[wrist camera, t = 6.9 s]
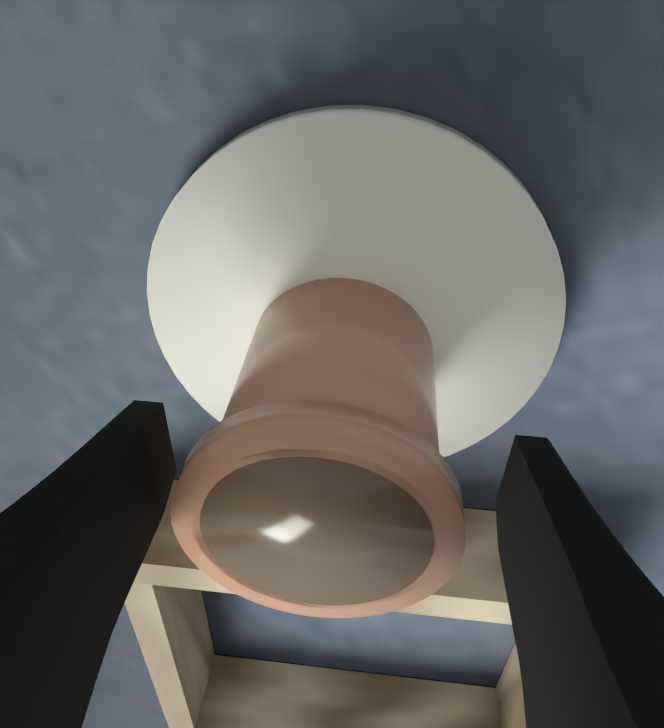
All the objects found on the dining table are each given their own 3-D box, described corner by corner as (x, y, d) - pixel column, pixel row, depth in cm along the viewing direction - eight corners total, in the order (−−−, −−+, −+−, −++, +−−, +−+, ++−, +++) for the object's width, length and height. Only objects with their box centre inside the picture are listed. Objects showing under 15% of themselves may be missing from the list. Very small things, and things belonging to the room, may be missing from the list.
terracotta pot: (463, 271, 14) (492, 449, 10) (433, 440, 18) (444, 632, 13) (230, 256, 15) (145, 419, 10) (246, 424, 18) (189, 605, 13)
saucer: (617, 118, 13) (629, 129, 12) (510, 467, 19) (514, 485, 19) (121, 91, 13) (107, 100, 13) (184, 437, 20) (177, 453, 19)
